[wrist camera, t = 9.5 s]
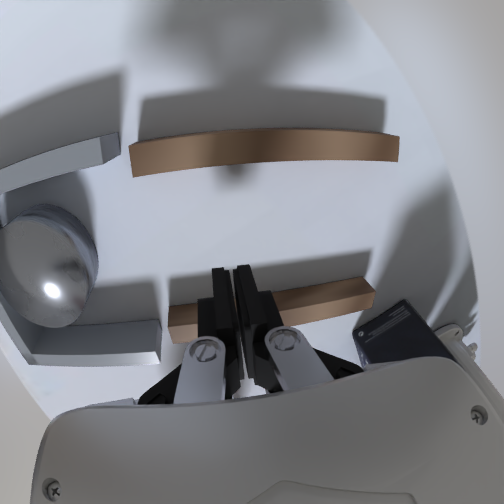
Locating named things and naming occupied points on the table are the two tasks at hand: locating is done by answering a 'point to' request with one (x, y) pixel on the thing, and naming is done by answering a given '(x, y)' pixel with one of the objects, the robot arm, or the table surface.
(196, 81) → the table surface
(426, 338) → the small box
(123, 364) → the grey u-shaped frame
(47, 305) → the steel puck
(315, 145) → the walnut slot
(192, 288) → the table surface
